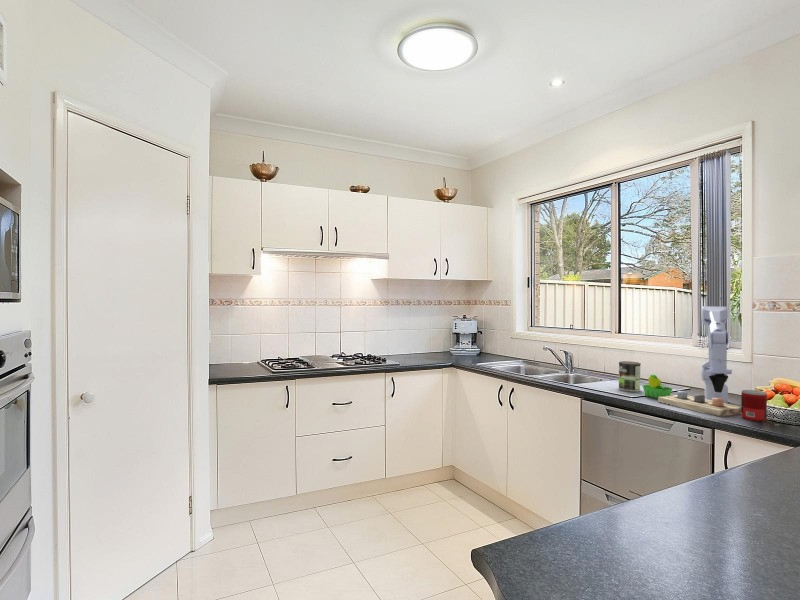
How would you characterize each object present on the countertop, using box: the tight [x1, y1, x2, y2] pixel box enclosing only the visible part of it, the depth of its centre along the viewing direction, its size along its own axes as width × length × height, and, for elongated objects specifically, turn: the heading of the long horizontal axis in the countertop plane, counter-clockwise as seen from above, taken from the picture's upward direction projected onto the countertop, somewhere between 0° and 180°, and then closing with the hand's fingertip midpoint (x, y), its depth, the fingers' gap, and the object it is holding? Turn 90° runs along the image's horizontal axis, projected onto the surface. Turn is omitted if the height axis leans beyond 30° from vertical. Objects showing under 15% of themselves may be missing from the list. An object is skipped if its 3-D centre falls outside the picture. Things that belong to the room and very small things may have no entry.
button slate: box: [676, 390, 689, 400], centre depth 214 cm, size 4×4×4 cm
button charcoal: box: [693, 393, 705, 404], centre depth 207 cm, size 4×4×4 cm
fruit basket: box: [642, 373, 674, 399], centre depth 228 cm, size 11×9×11 cm
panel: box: [657, 394, 741, 417], centre depth 207 cm, size 16×28×2 cm, turn 23°
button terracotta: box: [712, 398, 724, 408], centre depth 199 cm, size 4×4×4 cm
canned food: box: [740, 389, 768, 423], centre depth 187 cm, size 8×8×11 cm
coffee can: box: [618, 360, 642, 392], centre depth 247 cm, size 10×10×14 cm
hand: (718, 392), depth 199 cm, fingers closed
